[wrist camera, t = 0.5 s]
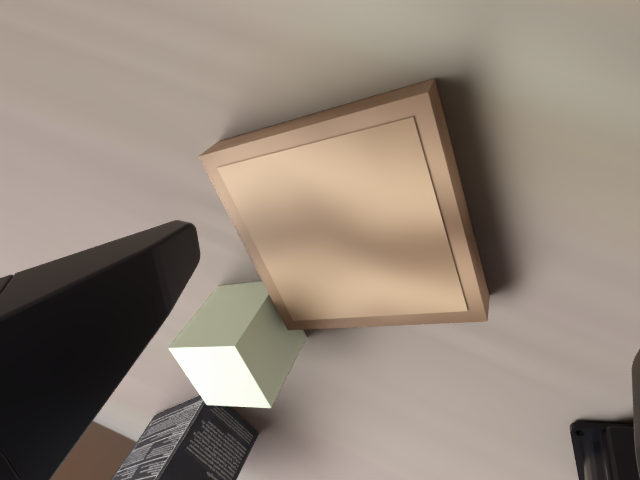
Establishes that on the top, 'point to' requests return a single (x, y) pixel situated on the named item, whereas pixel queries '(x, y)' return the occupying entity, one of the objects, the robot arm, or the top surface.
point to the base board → (356, 214)
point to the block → (238, 347)
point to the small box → (190, 445)
